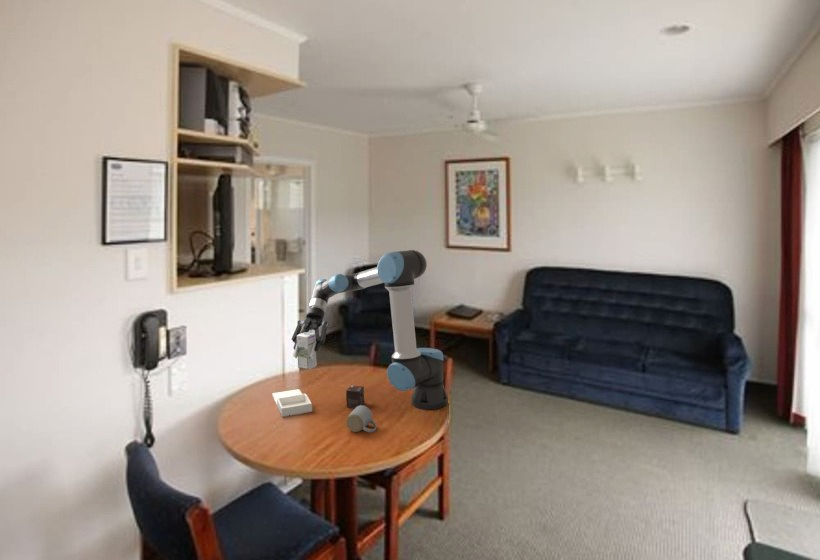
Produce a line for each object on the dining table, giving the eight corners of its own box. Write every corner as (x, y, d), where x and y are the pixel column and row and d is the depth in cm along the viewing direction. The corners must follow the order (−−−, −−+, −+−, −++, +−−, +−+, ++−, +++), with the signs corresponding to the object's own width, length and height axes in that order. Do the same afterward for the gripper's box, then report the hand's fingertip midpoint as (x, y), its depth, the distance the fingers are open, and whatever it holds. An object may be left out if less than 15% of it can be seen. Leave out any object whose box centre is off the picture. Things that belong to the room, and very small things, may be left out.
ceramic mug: (344, 431, 177) (344, 412, 176) (354, 422, 184) (354, 403, 183) (371, 436, 173) (371, 416, 172) (380, 426, 181) (380, 407, 180)
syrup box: (317, 366, 206) (315, 333, 204) (308, 370, 201) (306, 336, 199) (306, 364, 209) (305, 331, 206) (297, 368, 203) (296, 334, 201)
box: (360, 408, 198) (359, 391, 197) (346, 407, 199) (345, 390, 198) (364, 402, 204) (364, 386, 203) (350, 401, 205) (350, 385, 204)
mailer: (312, 411, 195) (311, 403, 195) (281, 416, 190) (281, 408, 190) (299, 389, 220) (298, 382, 219) (272, 394, 215) (271, 386, 214)
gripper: (339, 315, 215) (328, 362, 201) (298, 314, 219) (284, 360, 205) (335, 306, 209) (323, 354, 196) (292, 305, 213) (278, 352, 199)
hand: (303, 357), depth 200 cm, fingers closed on syrup box, 7 cm apart
